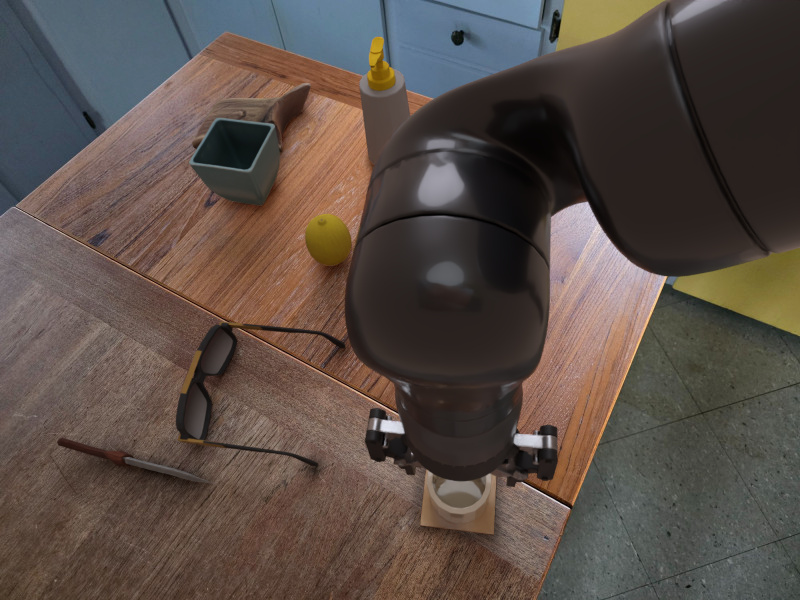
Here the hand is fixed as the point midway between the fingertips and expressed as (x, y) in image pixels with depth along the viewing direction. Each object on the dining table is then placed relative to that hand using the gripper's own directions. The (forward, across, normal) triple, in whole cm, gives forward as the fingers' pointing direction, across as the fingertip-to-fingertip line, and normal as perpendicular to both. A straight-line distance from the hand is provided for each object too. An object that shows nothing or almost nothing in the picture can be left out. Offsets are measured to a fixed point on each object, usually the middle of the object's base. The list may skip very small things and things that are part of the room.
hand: (461, 469), depth 48 cm
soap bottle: (+8, -13, +44) cm, 47 cm away
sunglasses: (+8, -22, +8) cm, 25 cm away
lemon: (+8, -18, +26) cm, 33 cm away
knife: (+8, -34, -2) cm, 35 cm away
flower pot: (+8, -32, +37) cm, 50 cm away
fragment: (+8, -36, +50) cm, 62 cm away
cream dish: (+7, 0, 0) cm, 7 cm away
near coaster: (+8, 0, 0) cm, 8 cm away
